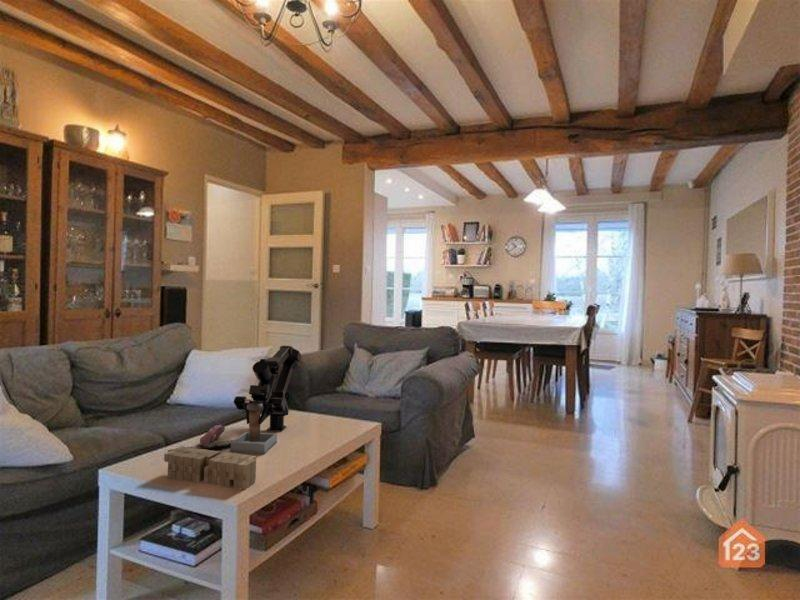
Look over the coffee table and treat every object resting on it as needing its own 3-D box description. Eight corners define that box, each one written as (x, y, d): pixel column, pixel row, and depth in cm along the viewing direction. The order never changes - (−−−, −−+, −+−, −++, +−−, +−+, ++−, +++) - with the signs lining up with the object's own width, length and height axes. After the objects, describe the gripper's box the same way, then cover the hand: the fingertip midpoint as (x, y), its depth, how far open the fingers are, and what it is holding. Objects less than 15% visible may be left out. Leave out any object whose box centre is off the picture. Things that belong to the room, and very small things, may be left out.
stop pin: (255, 436, 183) (256, 401, 183) (265, 439, 180) (265, 404, 179) (243, 440, 179) (243, 404, 178) (253, 443, 175) (253, 407, 175)
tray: (245, 441, 186) (245, 432, 186) (276, 442, 185) (277, 433, 185) (230, 452, 174) (230, 442, 174) (264, 454, 172) (264, 444, 172)
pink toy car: (207, 448, 182) (215, 432, 181) (197, 442, 182) (205, 426, 182) (221, 440, 191) (229, 425, 191) (212, 434, 192) (219, 419, 191)
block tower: (259, 483, 150) (181, 469, 158) (260, 456, 149) (182, 443, 157) (245, 493, 142) (163, 478, 150) (246, 465, 142) (164, 451, 150)
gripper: (235, 375, 183) (222, 411, 173) (283, 377, 182) (272, 413, 171) (244, 391, 192) (231, 426, 181) (289, 393, 190) (279, 429, 179)
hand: (253, 423), depth 178 cm, fingers closed on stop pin, 4 cm apart
